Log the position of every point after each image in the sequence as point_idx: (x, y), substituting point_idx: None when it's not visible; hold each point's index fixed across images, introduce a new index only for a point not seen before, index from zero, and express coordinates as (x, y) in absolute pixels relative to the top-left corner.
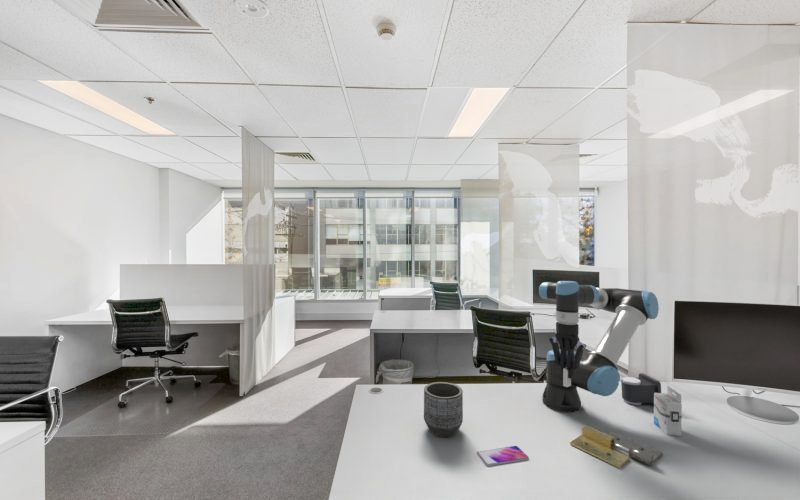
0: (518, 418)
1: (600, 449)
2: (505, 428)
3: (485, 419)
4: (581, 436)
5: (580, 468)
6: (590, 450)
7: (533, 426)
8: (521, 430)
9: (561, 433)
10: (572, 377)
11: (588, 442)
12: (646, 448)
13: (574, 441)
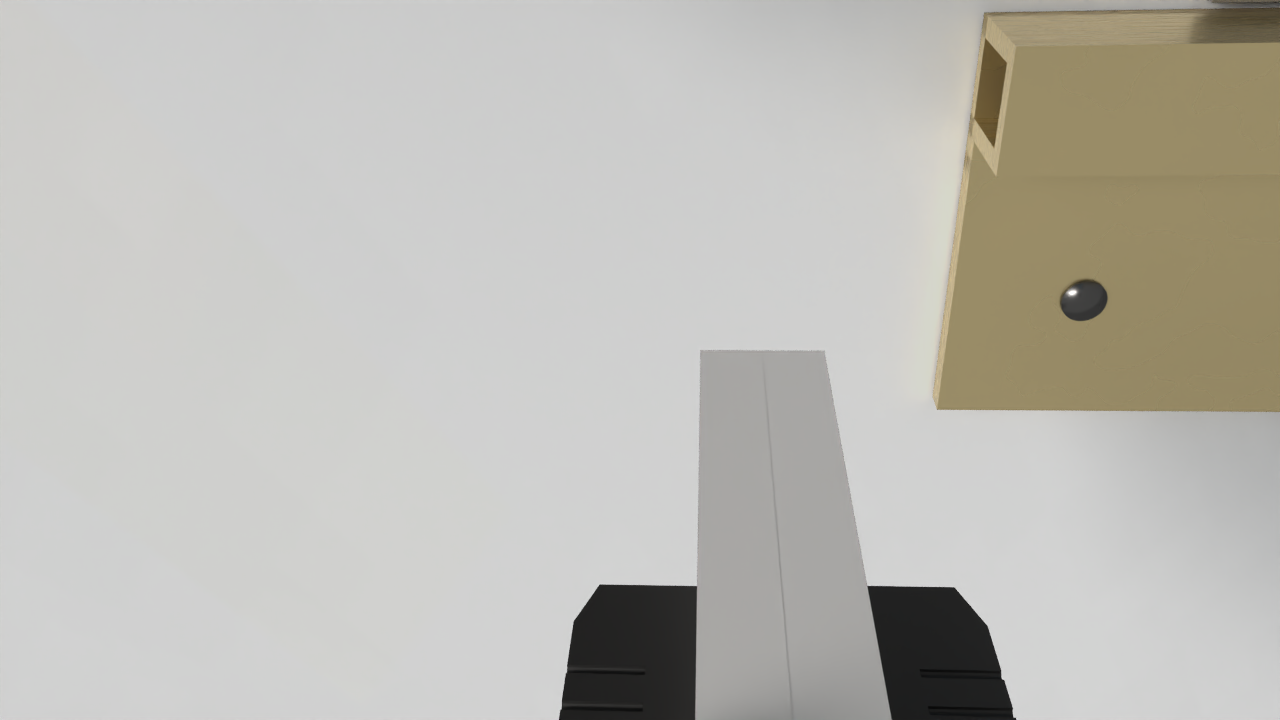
0: (247, 368)
1: (1254, 281)
2: (359, 616)
3: (133, 632)
4: (987, 191)
5: (1144, 632)
6: (1163, 382)
7: (469, 382)
8: (463, 537)
9: (755, 261)
10: (960, 617)
11: (1100, 252)
12: None
13: (967, 359)
